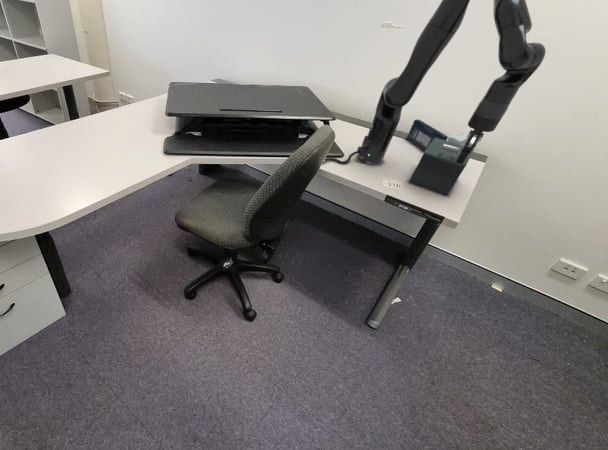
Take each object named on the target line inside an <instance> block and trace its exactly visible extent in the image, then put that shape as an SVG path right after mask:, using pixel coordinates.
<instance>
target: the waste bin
mask: <svg viewBox="0 0 608 450" xmlns="http://www.w3.org/2000/svg"><path fill="white" fill-rule="evenodd" d="M465 168H466V167H462V166H459V165H456V164H453V163H450V162H447V161H443V160H440V159H437V158H434V157H431V156H427V155H424V154H422V156H421V157H420V160H419V161H418V164H417V166H416V167H415V169H414V171H413V173H412V175H411V177H410V179H409V181H408V183H409V184H412V185H415V186H417V187H420V188H423V189H425V190H427V191H431V192H434V193H436V194H440V195H442V196H445V197H447V196H448V195H449V193H450V192H451V190H452V189H453V187H454V185H455V184H456V183H457V181H458V179H459V177H460V176H461V175H462V173H463V171H464V170H465Z"/></svg>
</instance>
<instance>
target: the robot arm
mask: <svg viewBox="0 0 608 450" xmlns="http://www.w3.org/2000/svg"><path fill="white" fill-rule="evenodd" d="M470 1H471V0H441V2H440V3H439V5H438V6H437V8H436V10H435V12H434V13H433V15H432V16H430V17H431V18H430V19H429V20H428V22H427V23H426V25H425V26H424V28H423V30H422V31H421V33H420V34H419V36H418V38H417V40H416V42H415V45H414V47H413V49H412V52H411V54H410V56H409V59H408V62H407V63H406V65H405V67H404V68H403V70H402V72H401V73H400V74H399V76H397V77H393V78H391V79H390V80H388V81H387V82H386V83H385V84H384V86H383V88H382V91H381V94H380V97H379V99H378V102H377V105H376V107H375V113H374V116H373V119H372V122H371V125H370V128H369V130H368V133H367V135H365V136H364V137H363V140H362V143H361V146H358V147H357V150H356V151H353V152H352V153H350V154H349V156H348V158H347V159H346V160H340V159H338V158H335V157H334V158H333V157H325V158H324V159H325V161H324V162H323V163H325V162H326V161H334V162H337V163H339V164H342V165H343V164H347V163H349V162H350V161H351V159H352V157H353V156H355V155H357V156H358V158H359V159H360V161H361V162H362V163H366V164H369V165H374V166H375V165H381V164H382V163H383V161H384V158H385V156H386V153H387V151H388V148H389V146H390V144H391V141H392V139H393V137H394V134H395V132H396V130H397V127H398V125H399V123H400V120H401V117H402V110H403V107H405V106H406V105H407V104H408V103H410V101H411V100H412V98H413V97H414V95H415V93H416V92H417V90H418V88H419V86H420V85H421V83H422V81H423V79H424V78H425V76H426V75H427V73H428V72H429V71H430V70H431V68H432V67H433V65H434V64H435V62H436V61H437V60H438V59H439V57H440V56H441V54H442V53H443V51H444V50H445V49H446V47H447V46H448V45H449V43H450V42H451V40H453V38H454V37H455V35H456V34H457V32H458V31H459V29H460V27H461V25H462V24H463V20H464V18H465V16H466V13H467V10H468V6H469V4H470ZM492 8H493V11H492V13H493V20H494V25H495V28H496V32H497V36H498V50H497V51H498V52H497V53H498V62H499V65H500V67H501V68H502V69H503V70H504V71H505V72H504V73H503V74H502V75H501V76H499V77H497V78H495V79H494V80H493V81H492V82H491V84H490V85H489V87H488V88H487V90H486V91H485V94H484V95H483V97H482V98H481V100H480V101H479V103H477V106H476V108H475V109H474V111H473V113H472V115H471V117H470V119H469V120H468V122H467V126H468V127H469V128H470V131H469V132H468V134H467V135H466V136H467V139H466V141H465V143H464V145H463V146H464V148H462V150H461V153H460V155H459V157H458V158H457V162H460V163H463V162H464V161H465V159H466V158H467V156H468V154H470V153H471V151H472V149H474V150H475V149H476V147H477V146H478V144H479V142H481V140H482V139H483V137H484V135H485V132H486V133H491V132H494V131H495V130H496V128H497V127H498V125H499V123H500V122H501V120H502V119H503V117H504V115H505V114H506V112H508V109H509V106H510V105H511V103H512V101H513V99H514V98H515V96H516V95H517V93H518V91H519V90H520V88H521V87H522V86H523V85H524V84H526V82H527V81H528V79H530V77H531V76H532V75H533V74H535V72H536V71H537V70H538V68H539V67H540V66H541V64H542V63H543V62H544V60H545V57H546V47H545V45H543V43H540V42H528V41H527V34H528V33H529V32H531V30H532V28H533V23H532V18H531V15H530V11H529V7H528V4H527V0H493V7H492ZM472 129H473V130H472ZM299 228H300V226H296V230H295V232H294V235H295V236H297V235H298V232H299Z"/></svg>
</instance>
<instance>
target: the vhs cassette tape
mask: <svg viewBox="0 0 608 450" xmlns="http://www.w3.org/2000/svg"><path fill="white" fill-rule="evenodd" d="M434 138H438V139H442V140H445V141H447V140H448V138H449V136H448V135H446V134H444V133H443V132H441V131H439V130H438V129H436V128H434V127H432V126H431V125H429V124H427V123H426V122H424V121H422V120H420V119H414V121H413V122H412V125H411V127H410V129H409V132H408V134H407V136H406V138H405V139H406V141H407V142H409V143H411V144H412V145H413V146H414V147H416V148H417V149H419V150H421V151H422V152H423V153H424V152H425V150H426V149H427V148H428V146H429V145H430V144H431V142H432V141H433V140H434Z"/></svg>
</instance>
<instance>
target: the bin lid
mask: <svg viewBox="0 0 608 450" xmlns="http://www.w3.org/2000/svg"><path fill="white" fill-rule="evenodd" d="M462 148H464V146H463V145H459V144H456V143H452V142H449V141H447V140H446V141H445V140H442V139H438V138H434V140H433V141H432V142H431V144H430V145H429V146H428V148H427V149H426V150H425V152H423V154H424V155H427V156H431V157H434V158H437V159H440V160H443V161H447V162H450V163H453V164H456V165H459V166H462V167H465V168H466V167H467V164H468V163H469V161H470V159H471V157H472V155H473V153H474V151H475V148H474V149H472V151H471V153H470V154H468V156H467V158H466V159H465V161H464V162H463V163H460V162H457V158H458V157H459V155H460V153H461V150H462ZM423 154H422V155H423Z"/></svg>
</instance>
